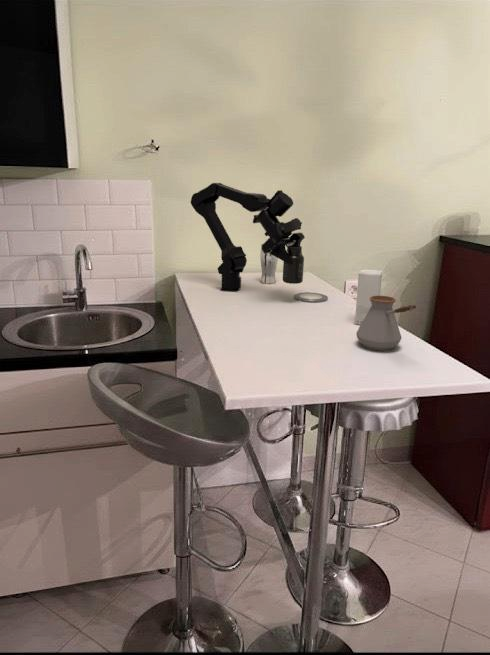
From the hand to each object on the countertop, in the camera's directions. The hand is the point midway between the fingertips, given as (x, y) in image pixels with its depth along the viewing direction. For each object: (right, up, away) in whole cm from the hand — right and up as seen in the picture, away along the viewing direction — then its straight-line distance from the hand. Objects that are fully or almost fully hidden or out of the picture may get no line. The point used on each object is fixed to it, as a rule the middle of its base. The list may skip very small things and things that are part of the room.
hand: (297, 262), depth 171 cm
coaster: (+6, -11, +11) cm, 17 cm away
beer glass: (-8, -4, +34) cm, 35 cm away
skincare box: (+19, -20, -15) cm, 32 cm away
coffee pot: (+19, -28, -40) cm, 53 cm away
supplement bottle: (-1, -6, +3) cm, 7 cm away
